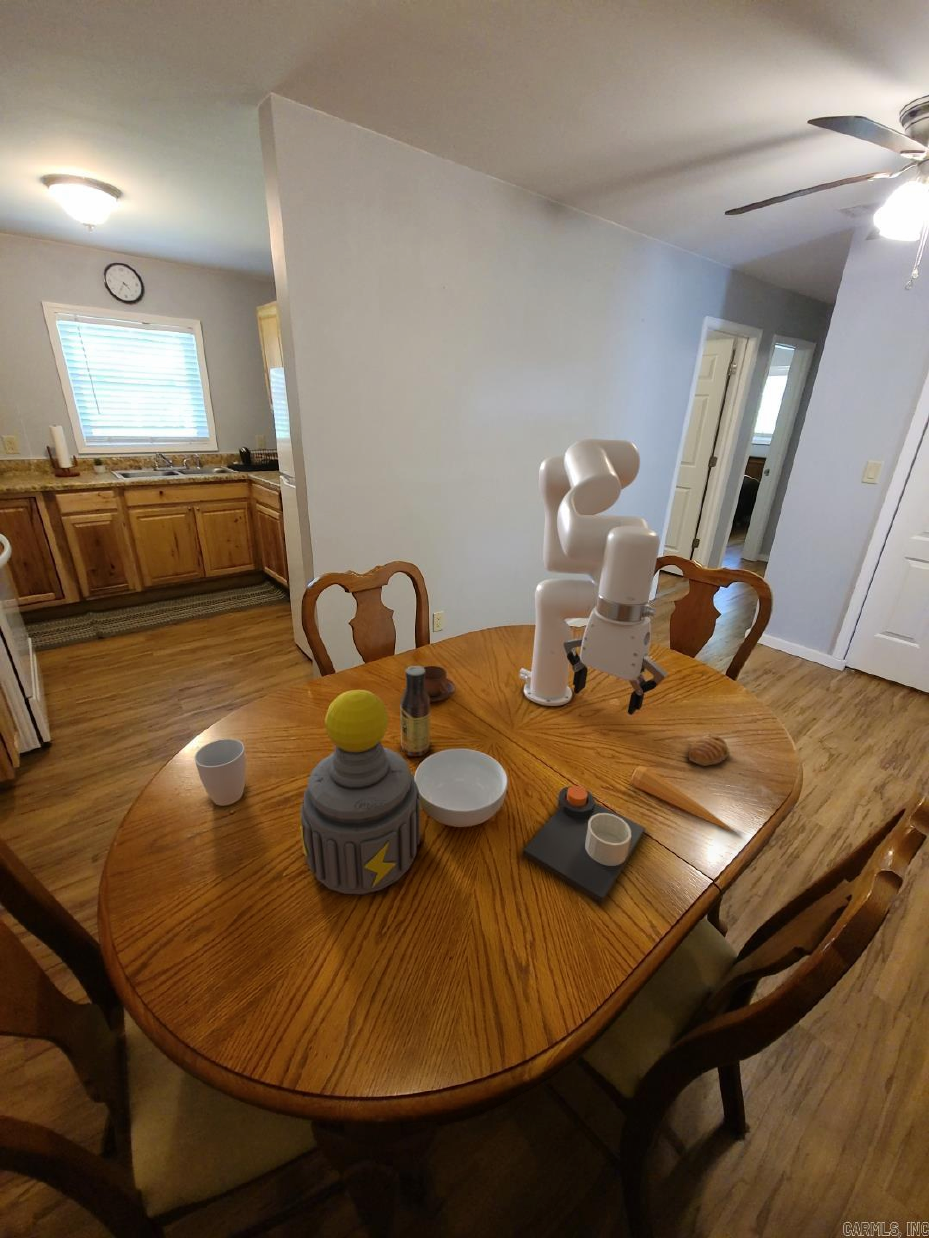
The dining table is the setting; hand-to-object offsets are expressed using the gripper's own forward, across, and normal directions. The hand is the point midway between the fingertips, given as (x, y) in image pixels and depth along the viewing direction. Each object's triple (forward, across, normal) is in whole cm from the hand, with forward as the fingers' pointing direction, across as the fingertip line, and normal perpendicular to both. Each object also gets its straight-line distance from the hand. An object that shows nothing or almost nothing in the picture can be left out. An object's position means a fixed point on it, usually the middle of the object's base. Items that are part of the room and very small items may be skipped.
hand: (605, 700), depth 85 cm
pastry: (+24, -14, -31) cm, 42 cm away
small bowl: (+22, -7, +9) cm, 25 cm away
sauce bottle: (+24, +36, +9) cm, 44 cm away
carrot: (+24, -14, -11) cm, 30 cm away
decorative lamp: (+24, +24, +34) cm, 48 cm away
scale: (+23, -4, +9) cm, 25 cm away
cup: (+24, +53, +42) cm, 72 cm away
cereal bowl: (+24, +18, +16) cm, 34 cm away
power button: (+21, +1, +3) cm, 21 cm away
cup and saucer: (+25, +49, -11) cm, 56 cm away
